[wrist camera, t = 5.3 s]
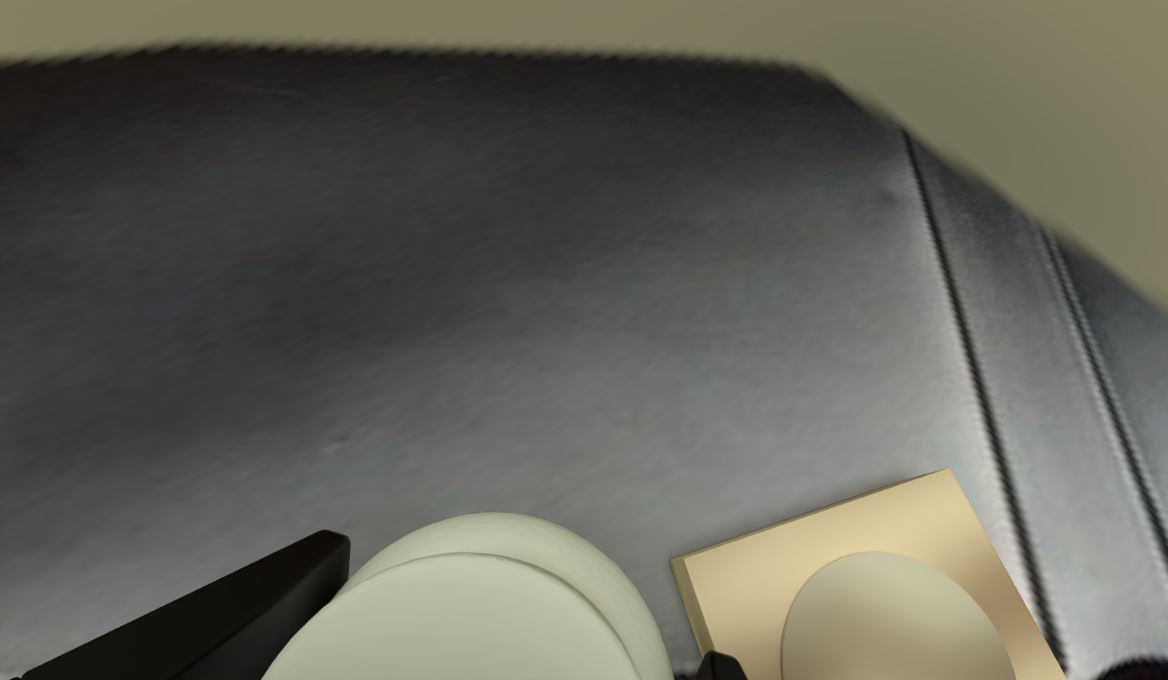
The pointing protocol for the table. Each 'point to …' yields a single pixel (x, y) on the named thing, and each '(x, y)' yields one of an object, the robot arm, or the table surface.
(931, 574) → the pedestal
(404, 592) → the pill bottle
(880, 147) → the table surface
